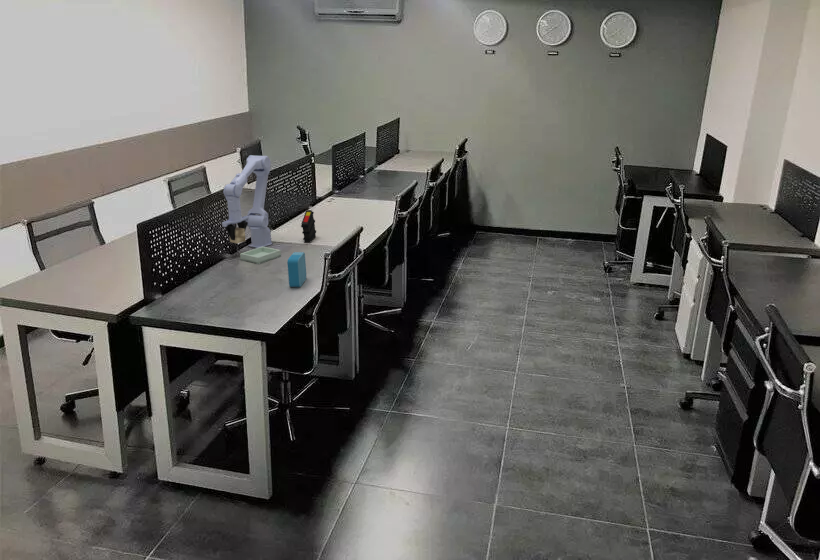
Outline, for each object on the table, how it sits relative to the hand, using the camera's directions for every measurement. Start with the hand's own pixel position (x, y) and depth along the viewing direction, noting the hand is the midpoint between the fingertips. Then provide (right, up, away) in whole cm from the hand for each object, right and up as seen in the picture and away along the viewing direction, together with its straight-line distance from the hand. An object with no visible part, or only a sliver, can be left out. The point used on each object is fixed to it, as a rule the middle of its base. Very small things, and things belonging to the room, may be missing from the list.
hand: (237, 238), depth 310 cm
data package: (+34, -21, -35) cm, 53 cm away
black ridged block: (+30, 0, +26) cm, 39 cm away
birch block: (0, -1, 0) cm, 2 cm away
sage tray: (+11, -9, -1) cm, 15 cm away
